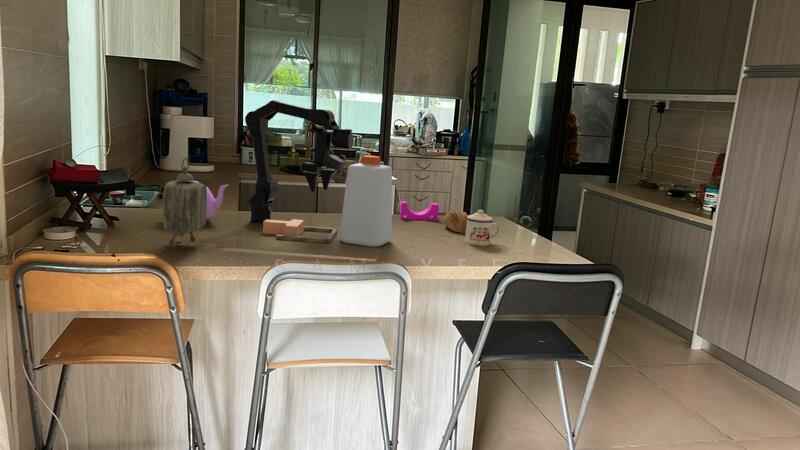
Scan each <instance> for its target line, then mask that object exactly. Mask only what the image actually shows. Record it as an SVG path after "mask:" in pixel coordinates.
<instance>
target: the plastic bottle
mask: <svg viewBox="0 0 800 450" xmlns="http://www.w3.org/2000/svg"><path fill="white" fill-rule="evenodd" d="M347 168H348V169H347V173H346V183H345V189H344V196H343V198H344V199H343V206H342V213H341V220H340V229H339V240H340V241H341V242H342V243H344V244H350V245H358V246H364V247H370V248H375V247H377V248H378V247H380V246H383V245H385V244H387V243H389V242H391V241H392V239H393V235H392V234H393V225H392V224H393V223H392V220H393V170H392V167H391V166H390V165H384V164H381V156H377V155H362V156H361V162H359V163H354V164H353V163H352V164H350V165H348V167H347Z"/></svg>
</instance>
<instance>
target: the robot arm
mask: <svg viewBox="0 0 800 450" xmlns="http://www.w3.org/2000/svg"><path fill="white" fill-rule="evenodd" d="M277 114H282V115H286V116H291V117H294V118H299V119H303V120H305V121H308V122H309V123H311V124H313V126H312V127H311V128H310V129H308V132H309V133H314V145H313V147H312V148H311V152H313V159H312V160H310V162H302V163H301V164H300V171H301V172H302V174H303V175H304V177H305V179H306V181H307V184H308V186H309V189H310V191H311V193H315V192H316V188H317V181H318V178H319V177H320V178H321V183H322V188H323V190H325V191H327V190H328V188H329V185H330V183H331V180H332V177H333V175H335V174H336V173H338V171H340V170H343V169H344V168H345V166H347V157H346V155H344V154H341V155H339V156H338V155H335V154H334V150H333V149H331V147H332V146H333V147H334V148H336V149H342V150H343V149H344V150H352V148H353V145H354V135H353V130H352V129H351V128H345V129H344V128H340V127H339V125H338V123H337V122H336V120H335V114H334V113H333V111H332V110H330V109H316V108H308V107H303V106H298V105H295V104H290V103H287V102H281V101H280V100H270V101H269V102H267V103H266V104H264V105H262V106H260V107H258V108H257V109H255V110H252V111H248V112H247V114H246V115H245V116H244V117H245V118H244V122H245V125H246V128H247V131H248V133H249V135H250V136H251V138H252V145H253V152H254V161H255V166H256V167H255V168H256V174H257V175H256V177H257V178H256V182H255V186H254V187H255V188H254V189H255V191H254V193H255V194H254V195H252V196H251V197H250V198H249V199H248V204H249V206H250V207H251V209H250V210H251V211H250V220H249V223H254V224H255V223H256V224H263V221H265V220H266V219H267V220H273V219H272V217H273V216H272V215H273V209H272V208H271V205H272V204H273V202H274V200H275V199H276V198H277V197H278V194H279V192H280V190H279V186H278V185H279V184H278V183H279V182H278V180H274V179H273V177H272V174H271V167H270V160H269V159H270V158H269V151H268V143H267V133H268V130H269V121H271V120H272V119H273V118H274V117H275V116H276V115H277ZM331 131H332V132H331ZM331 145H332V146H331Z"/></svg>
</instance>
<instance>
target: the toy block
mask: <svg viewBox="0 0 800 450" xmlns="http://www.w3.org/2000/svg"><path fill="white" fill-rule="evenodd" d="M439 207H440V204H439V203H437V202H430V205H429V206H428V208H425V209H423V210H422V211H413V210H411V209H410V208H409V207H408V203H407V201H403V200H402V201H400V209H399V211H400V212H399V218H400V219H401V220H416V219H421V220H422V219H423V220H422V221H438V219H439ZM405 214H406V215H405ZM404 215H405V216H404ZM431 216H434V217H431ZM427 219H428V220H427ZM432 219H433V220H432Z"/></svg>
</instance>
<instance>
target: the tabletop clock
mask: <svg viewBox="0 0 800 450" xmlns="http://www.w3.org/2000/svg"><path fill="white" fill-rule="evenodd" d="M185 161H186V163H187V166H184V164H185ZM189 168H190V159H189V158H188V157H184V158H183V159H182V160H181V171H182V173H179V174H177V176H176V178H175V180H170V181H169V182H167V183H166V184H165V186H164V187H163V202H162V214H163V215H162V216H163V217H162V219H163V220H162V221H163V222H162V223H163V230H164V231H165V232H174V233H173V236H172V238H171V239H168V244H169V246H172V245H174V244H175V239H176V237H179V238H183V237H184V236H185V233H189V235H190V238H189V241H190V242H191V243H194V242H196V237H195V236H194V235H193V234H194V232H197V231H199V230H200V229H203V227H204V226H205V225H206V224H207V220H206V214H207V188H206V187H207V186H206V185H205V184H203V183H202V182H199V181H198V182H191V181H195V178H194V176H193V175H192V174H191V173H188V171H189Z"/></svg>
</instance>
